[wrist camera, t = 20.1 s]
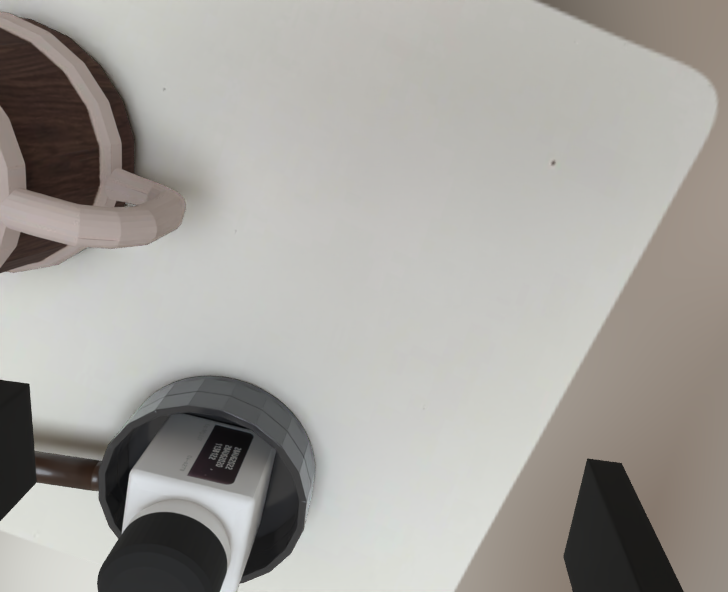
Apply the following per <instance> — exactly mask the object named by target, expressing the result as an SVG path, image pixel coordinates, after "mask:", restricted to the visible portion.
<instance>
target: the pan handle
mask: <svg viewBox="0 0 728 592" xmlns="http://www.w3.org/2000/svg"><path fill="white" fill-rule="evenodd" d="M101 463H102V461H99V460H92V459H86V458H79V457H72V456H65V455H58V454H51V453H45V452H38V451H35V464H36V477H37V483H44V484H51V485H58V486H64V487H71V488H78V489H85V490H92V491H99V481H98V471H99V468H100V465H101Z"/></svg>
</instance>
